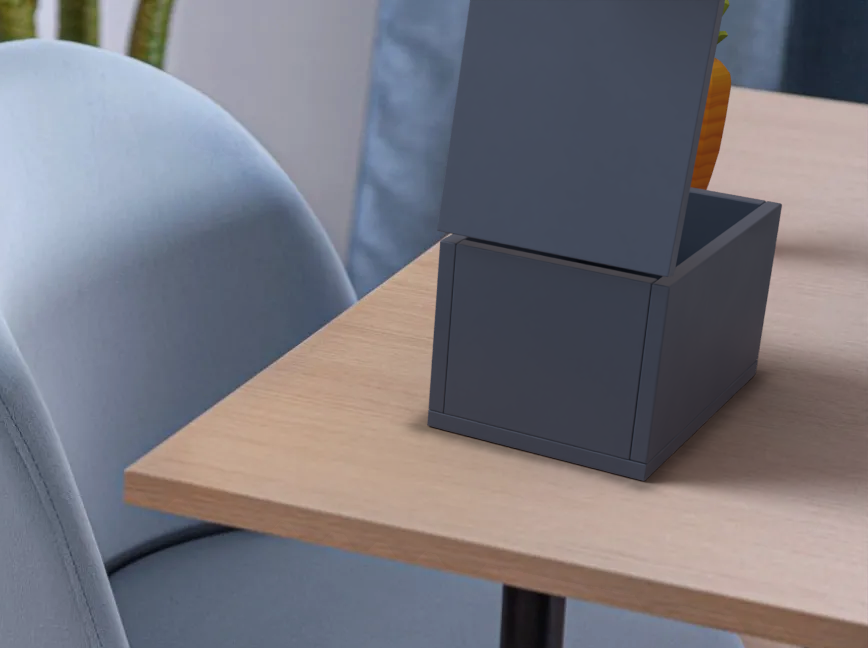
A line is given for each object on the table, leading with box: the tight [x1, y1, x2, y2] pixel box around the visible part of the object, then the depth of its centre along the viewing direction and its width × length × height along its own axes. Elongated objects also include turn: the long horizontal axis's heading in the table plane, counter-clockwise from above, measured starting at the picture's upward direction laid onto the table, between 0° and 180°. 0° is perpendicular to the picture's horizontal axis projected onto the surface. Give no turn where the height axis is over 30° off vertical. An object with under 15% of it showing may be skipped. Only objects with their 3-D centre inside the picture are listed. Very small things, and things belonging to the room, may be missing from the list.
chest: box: [426, 187, 783, 482], centre depth 83 cm, size 16×11×9 cm
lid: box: [436, 0, 725, 277], centre depth 70 cm, size 16×11×5 cm
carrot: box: [690, 0, 732, 190], centre depth 104 cm, size 5×5×15 cm
